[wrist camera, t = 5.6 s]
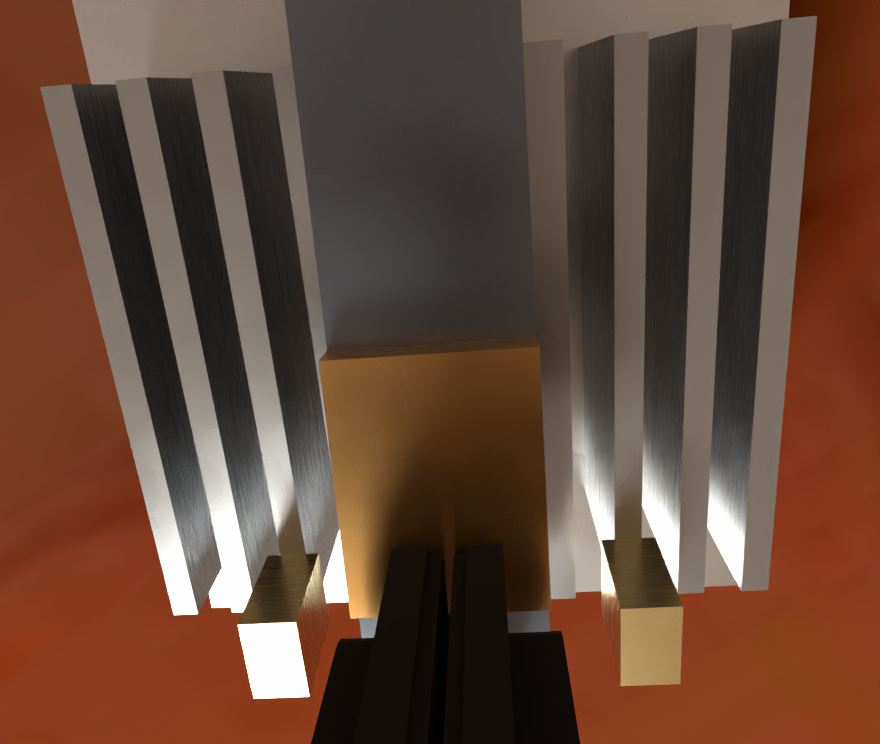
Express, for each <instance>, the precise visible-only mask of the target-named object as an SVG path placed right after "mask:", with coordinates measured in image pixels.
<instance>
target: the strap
mask: <svg viewBox="0 0 880 744" xmlns="http://www.w3.org/2000/svg"><path fill="white" fill-rule="evenodd" d="M284 2H285V10H286V18H287V26H288V35H289V43H290V51H291V59H292V68H293V76H294V84H295V92H296V100H297V109H298V117H299V125H300V133H301V142H302V150H303V158H304V166H305V175H306V183H307V191H308V199H309V208H310V216H311V224H312V232H313V241H314V249H315V257H316V265H317V273H318V282H319V290H320V298H321V306H322V315H323V323H324V331H325V339H326V348H327V351H326V352H325V354H324V355H323V356H322V357H321V358H320V360H319V361H318V362H319V370H320V378H321V386H322V394H323V402H324V410H325V418H326V426H327V434H328V442H329V450H330V458H331V466H332V474H333V482H334V490H335V498H336V506H337V514H338V522H339V530H340V538H341V546H342V554H343V562H344V570H345V578H346V586H347V594H348V602H349V610H350V618H359V619H360V628H361V636H362V638H374V636H375V630H376V625H377V620H378V615H379V610H380V605H381V600H382V595H383V589H384V584H385V579H386V574H387V569H388V564H389V559H390V553H391V550H392V548H394V547H417V546H428V547H429V551H430V556H433V555H442V556H443V560H444V570H445V581H446V592H447V603H448V614H449V625H450V607H451V588H452V569H453V555H457V554H467V544H485V543H503V554H504V570H505V587H506V603H507V620H508V633H523V632H550V624H549V610H551V588H550V566H549V543H548V521H547V499H546V477H545V454H544V432H543V410H542V388H541V365H540V346H539V343H538V340H537V337H536V320H535V298H534V276H533V254H532V233H531V211H530V189H529V167H528V146H527V124H526V102H525V80H524V59H523V37H522V15H521V0H284Z"/></svg>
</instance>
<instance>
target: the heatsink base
mask: <svg viewBox="0 0 880 744" xmlns="http://www.w3.org/2000/svg"><path fill="white" fill-rule="evenodd" d="M72 2H73V6H74V11H75V15H76V19H77V24H78V28H79V32H80V37H81V41H82V45H83V50H84V54H85V58H86V63H87V67H88V71H89V76H90V80H91V84H69V85H59V86H48V87H40V89H41V93H42V97H43V101H44V105H45V109H46V113H47V116H48V120H49V124H50V128H51V132H52V136H53V140H54V144H55V148H56V152H57V156H58V160H59V164H60V168H61V172H62V176H63V180H64V184H65V187H66V191H67V195H68V199H69V203H70V207H71V211H72V215H73V219H74V223H75V227H76V231H77V235H78V239H79V243H80V247H81V251H82V255H83V258H84V262H85V266H86V270H87V274H88V278H89V282H90V286H91V290H92V294H93V298H94V302H95V306H96V310H97V314H98V318H99V322H100V326H101V329H102V333H103V337H104V341H105V345H106V349H107V353H108V357H109V361H110V365H111V369H112V373H113V377H114V381H115V385H116V389H117V393H118V397H119V400H120V404H121V408H122V412H123V416H124V420H125V424H126V428H127V432H128V436H129V440H130V444H131V448H132V452H133V456H134V460H135V464H136V468H137V471H138V475H139V479H140V483H141V487H142V491H143V495H144V499H145V503H146V507H147V511H148V515H149V519H150V523H151V527H152V531H153V535H154V539H155V542H156V546H157V550H158V554H159V558H160V562H161V566H162V570H163V574H164V578H165V582H166V586H167V590H168V594H169V598H170V602H171V606H172V610H173V613H174V615H187V614H198V613H199V611H200V609H201V607H202V605H203V603H204V602H205V600H206V598H207V596H208V594H209V596H210V600H211V605H212V608H215V607H231V610H232V613H234V612H243V614H242V616H241V618H240V621H239V623H238V629H239V633H240V638H241V642H242V647H243V652H244V656H245V661H246V665H247V670H248V675H249V679H250V684H251V688H252V693H253V697H254V699H255V698H284V697H310V693H311V689H312V685H313V682H314V678H315V674H316V670H317V667H318V663H319V659H320V655H321V652H322V648H323V644H324V640H325V637H326V633H327V629H328V625H329V622H330V620H329V614H328V607H327V603H332V602H348V594H347V586H346V578H345V570H344V562H343V554H342V546H341V538H340V530H339V522H338V514H337V506H336V498H335V490H334V482H333V474H332V466H331V458H330V450H329V442H328V434H327V426H326V418H325V410H324V402H323V394H322V386H321V378H320V370H319V362H318V361H319V360H320V358H321V357H322V356H323V355H324V354H325V352H326V351H327V348H326V339H325V331H324V323H323V315H322V306H321V298H320V290H319V282H318V273H317V265H316V257H315V249H314V241H313V232H312V224H311V216H310V208H309V199H308V191H307V183H306V175H305V166H304V158H303V150H302V142H301V133H300V125H299V117H298V109H297V100H296V92H295V84H294V76H293V68H292V59H291V51H290V43H289V35H288V26H287V18H286V10H285V2H284V0H72ZM789 6H790V0H521V15H522V37H523V59H524V80H525V102H526V124H527V146H528V167H529V189H530V211H531V233H532V254H533V276H534V298H535V320H536V337H537V340H538V343H539V346H540V365H541V388H542V410H543V432H544V454H545V477H546V499H547V521H548V543H549V566H550V588H551V599H566V598H576V592H590V591H602V613H603V617H604V621H605V625H606V629H607V633H608V637H609V641H610V645H611V649H612V653H613V657H614V661H615V665H616V669H617V674H618V678H619V682H620V686H634V685H664V684H680V674H681V647H682V621H683V605H682V603H681V600H680V598H679V595H678V594H684V593H704V587H707V586H730V585H738V586H739V588H740V590H741V591H755V590H768V583H769V571H770V560H771V548H772V536H773V525H774V513H775V502H776V490H777V478H778V467H779V455H780V443H781V432H782V420H783V408H784V397H785V385H786V373H787V362H788V350H789V339H790V327H791V315H792V304H793V292H794V280H795V269H796V257H797V245H798V234H799V222H800V210H801V199H802V187H803V176H804V164H805V152H806V141H807V129H808V117H809V106H810V94H811V82H812V71H813V59H814V47H815V36H816V24H817V16H809V17H798V18H789Z"/></svg>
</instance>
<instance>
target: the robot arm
mask: <svg viewBox="0 0 880 744" xmlns="http://www.w3.org/2000/svg"><path fill="white" fill-rule="evenodd" d="M311 744H580V740H579V734H578V728H577V721H576V715H575V709H574V703H573V697H572V691H571V684H570V678H569V672H568V666H567V660H566V654H565V647H564V641H563V636H562V633H561V631H551V632H523V633H508V620H507V603H506V587H505V570H504V554H503V543H485V544H467V554H457V555H453V569H452V588H451V607H450V625H449V614H448V603H447V592H446V581H445V570H444V560H443V556H442V555H433V556H430V551H429V547H428V546H417V547H394V548H392V550H391V553H390V559H389V564H388V569H387V574H386V579H385V584H384V589H383V595H382V600H381V605H380V610H379V615H378V620H377V625H376V630H375V636H374V638H354V639H341V640H340V641H339V642H338V645H337V647H336V650H335V654H334V658H333V662H332V666H331V670H330V673H329V677H328V681H327V685H326V689H325V693H324V696H323V700H322V704H321V708H320V712H319V716H318V719H317V723H316V727H315V731H314V735H313V738H312V742H311Z"/></svg>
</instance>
